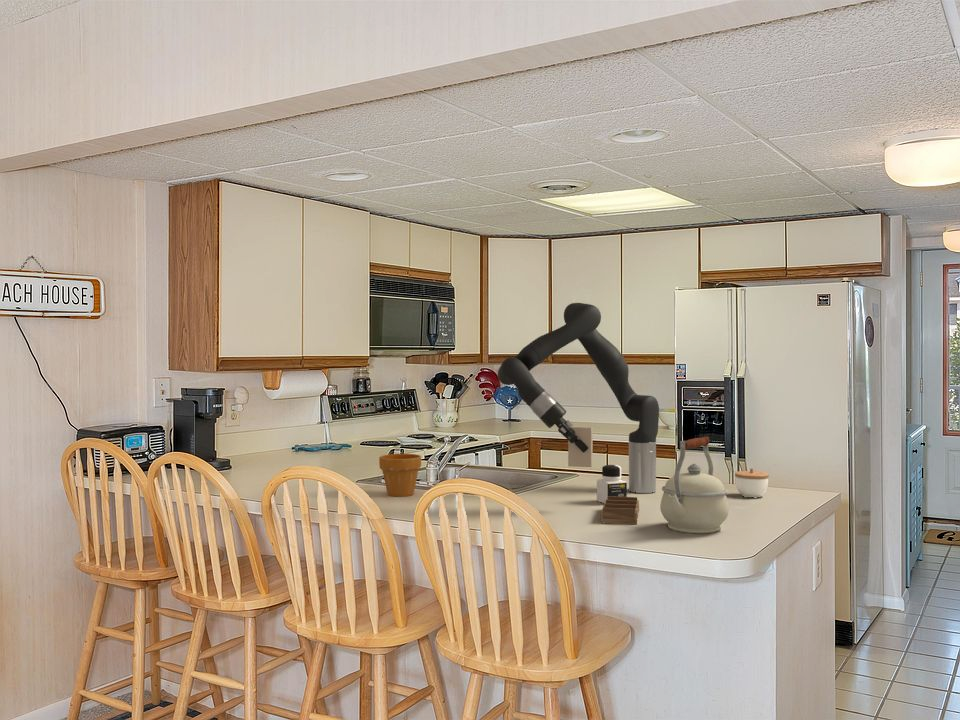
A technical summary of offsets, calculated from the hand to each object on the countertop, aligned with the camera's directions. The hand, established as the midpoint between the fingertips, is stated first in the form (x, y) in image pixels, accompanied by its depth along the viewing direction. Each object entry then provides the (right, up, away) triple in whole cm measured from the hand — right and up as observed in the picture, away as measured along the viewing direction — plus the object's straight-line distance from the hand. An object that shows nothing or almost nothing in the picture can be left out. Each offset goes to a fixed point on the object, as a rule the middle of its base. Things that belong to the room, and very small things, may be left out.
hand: (586, 449), depth 261 cm
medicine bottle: (+10, -19, +14) cm, 25 cm away
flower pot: (-60, -19, +29) cm, 69 cm away
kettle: (+26, -20, -26) cm, 41 cm away
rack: (+9, -19, -9) cm, 23 cm away
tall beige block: (-2, -5, +1) cm, 5 cm away
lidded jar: (+58, -19, +25) cm, 66 cm away
